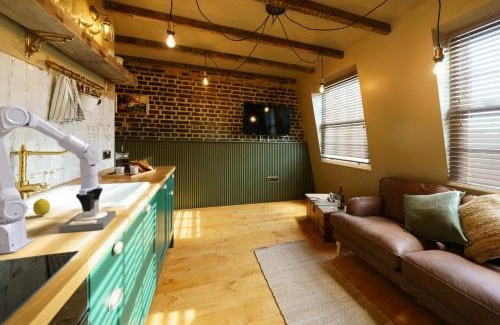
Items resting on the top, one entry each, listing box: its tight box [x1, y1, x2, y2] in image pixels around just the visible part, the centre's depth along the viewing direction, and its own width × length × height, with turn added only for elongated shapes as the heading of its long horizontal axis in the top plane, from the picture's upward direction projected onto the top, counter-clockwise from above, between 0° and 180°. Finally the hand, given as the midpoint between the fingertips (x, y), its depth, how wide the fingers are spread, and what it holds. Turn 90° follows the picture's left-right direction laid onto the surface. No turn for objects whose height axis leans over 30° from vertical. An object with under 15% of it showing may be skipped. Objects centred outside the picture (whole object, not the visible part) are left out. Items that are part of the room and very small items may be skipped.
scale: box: [59, 210, 117, 234], centre depth 93 cm, size 16×14×3 cm
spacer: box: [81, 199, 100, 217], centre depth 94 cm, size 4×4×6 cm
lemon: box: [32, 198, 51, 217], centre depth 101 cm, size 6×6×8 cm
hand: (91, 208), depth 94 cm, fingers open, 7 cm apart
